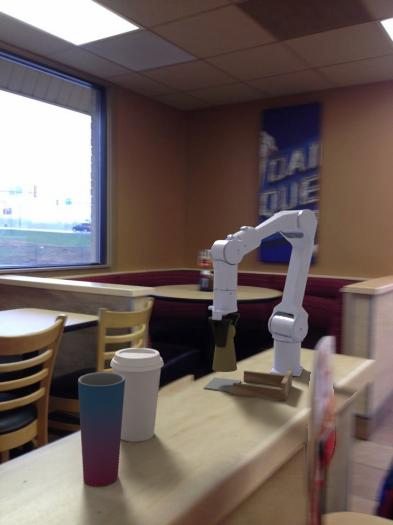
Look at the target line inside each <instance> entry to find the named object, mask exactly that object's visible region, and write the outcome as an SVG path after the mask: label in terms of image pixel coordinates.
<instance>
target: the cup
mask: <svg viewBox="0 0 393 525" xmlns="http://www.w3.org/2000/svg"><path fill="white" fill-rule="evenodd" d="M77 387H78V404H79V405H78V406H79V424H80V438H81V439H80V441H81V444H80V445H81V457H82V459H81V461H82V474H83V475H82V479H83V480H82V481H83V482H84V484H86V485H88V486H90V487H97V488H99V487H106V486H109V485H111V484H113V483H115V482H116V481H117V480H118V478H119V465H120V454H121V453H120V451H121V440H122V439H121V428H122V414H123V401H124V388H125V377H124V376H123V375H121V374H118V373H113V372H109V371H108V372H107V371H102V372H101V371H99V372H97V371H96V372H91V373H86V374H84V375H81V376H80V377H79V378H78V380H77Z"/></svg>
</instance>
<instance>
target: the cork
mask: <svg viewBox="0 0 393 525" xmlns="http://www.w3.org/2000/svg"><path fill="white" fill-rule="evenodd" d="M235 336H236V326H235V327H234V326H233V325H230V328H229V331H228V336H227V343H226V346H225V348H222V347H216V345H214V346H215V348H214V354H213V363H212V371H215V372H219V373H233V372H236V371H237V370H238V364H237V356H236V350H235V344H234V342H235V341H234V337H235Z"/></svg>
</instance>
